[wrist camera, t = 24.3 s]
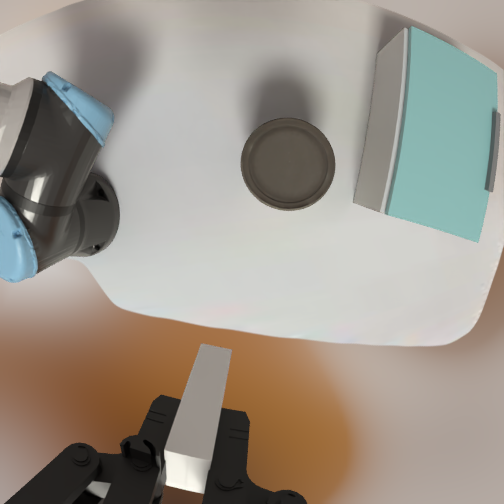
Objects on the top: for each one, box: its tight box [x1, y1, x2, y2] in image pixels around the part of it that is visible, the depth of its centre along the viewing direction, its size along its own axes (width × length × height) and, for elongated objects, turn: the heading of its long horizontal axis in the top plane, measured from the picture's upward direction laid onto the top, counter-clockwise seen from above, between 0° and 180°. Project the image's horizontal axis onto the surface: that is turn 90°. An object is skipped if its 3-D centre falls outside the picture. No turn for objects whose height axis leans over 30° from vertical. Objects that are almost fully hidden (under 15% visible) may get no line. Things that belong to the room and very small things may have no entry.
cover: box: [385, 26, 500, 243], centre depth 29 cm, size 16×27×2 cm, turn 169°
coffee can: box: [241, 118, 335, 211], centre depth 37 cm, size 10×10×14 cm
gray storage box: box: [353, 27, 409, 214], centre depth 36 cm, size 16×27×12 cm, turn 169°
